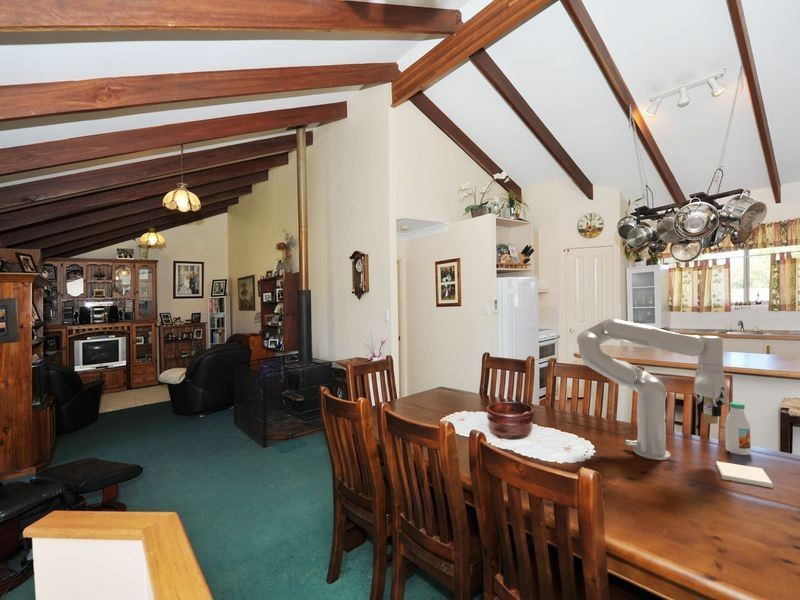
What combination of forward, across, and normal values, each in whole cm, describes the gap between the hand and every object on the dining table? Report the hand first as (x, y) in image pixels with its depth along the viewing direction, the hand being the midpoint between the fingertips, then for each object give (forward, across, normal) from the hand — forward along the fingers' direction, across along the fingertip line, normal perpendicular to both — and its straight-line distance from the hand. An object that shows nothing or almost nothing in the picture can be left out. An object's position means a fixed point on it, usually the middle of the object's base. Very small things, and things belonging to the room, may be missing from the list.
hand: (710, 413), depth 151 cm
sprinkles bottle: (+4, 0, 0) cm, 4 cm away
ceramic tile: (+18, +13, -1) cm, 23 cm away
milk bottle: (+18, -5, +18) cm, 26 cm away
